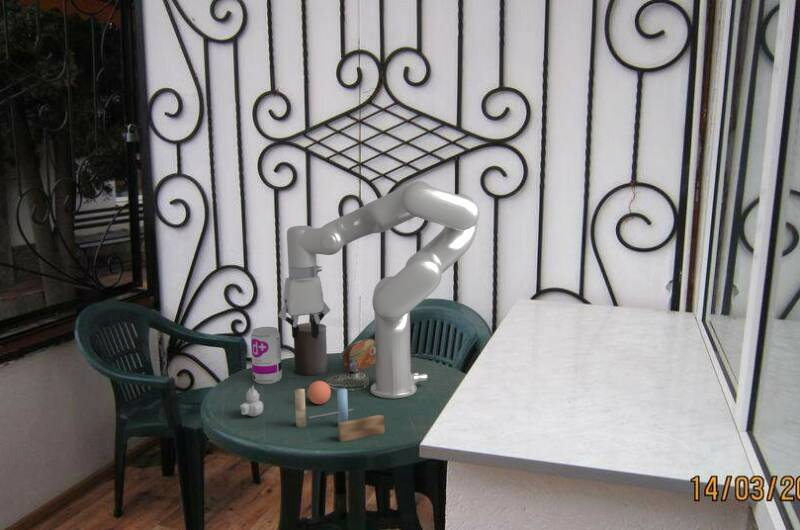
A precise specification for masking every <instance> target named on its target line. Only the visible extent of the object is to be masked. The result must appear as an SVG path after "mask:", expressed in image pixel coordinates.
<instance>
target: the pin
mask: <svg viewBox="0 0 800 530" xmlns="http://www.w3.org/2000/svg"><path fill="white" fill-rule="evenodd" d="M336 395H337V397H336V399H337V411H338V414H337V424H338V423H341V422H346V421H349V412H348V409H349V406H348V405H349V403H348V400H349V399H348V389H347V388H339V389H337V390H336Z"/></svg>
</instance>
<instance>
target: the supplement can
mask: <svg viewBox="0 0 800 530" xmlns="http://www.w3.org/2000/svg"><path fill="white" fill-rule="evenodd" d="M250 347H251V348H250V349H251V350H250V351H251V352H250V353H251V364H252V365H251V366H252V367H251V368H252V380H253V381H254V382H255V383H256V384H260V385H271V384H275V383H278V382H280V380H281V379H282V377H283V372H282V371H283V370H282V369H283V368H282V351H281V348H282V347H281V334H280V332H279V331H278V327H275V326H260V327H256V328H253V329H252V332H251V334H250ZM277 381H278V382H277Z"/></svg>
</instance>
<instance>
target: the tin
mask: <svg viewBox="0 0 800 530" xmlns="http://www.w3.org/2000/svg"><path fill="white" fill-rule="evenodd" d="M342 358H343V359H342V360H343V361H342V362H343V366H344V369H345V371H348V372H352V373H355V374H356V373H357V372H358V373H359V372H361V371H364V370H366V369H367V368H369V367H372V366H373V365H375V364H376V360H375V338H363V339H360V340H358V341H356V342H354V343H351V344H349V345H347V347H346V348H345V350H344V352H343V355H342Z"/></svg>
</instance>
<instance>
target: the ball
mask: <svg viewBox="0 0 800 530" xmlns="http://www.w3.org/2000/svg"><path fill="white" fill-rule="evenodd" d="M331 394H332V391H331V387H330V385H329V384H328V383H327V382H325V381H322V380H315V381H313V382H312V383H310V385H309V387H308V389H307V397H308V399H309V400H310V401H311V403H314V404H317V405H321V404H322V405H323V404H325V403H326V402H328V401H329V399H330V398H331Z"/></svg>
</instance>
